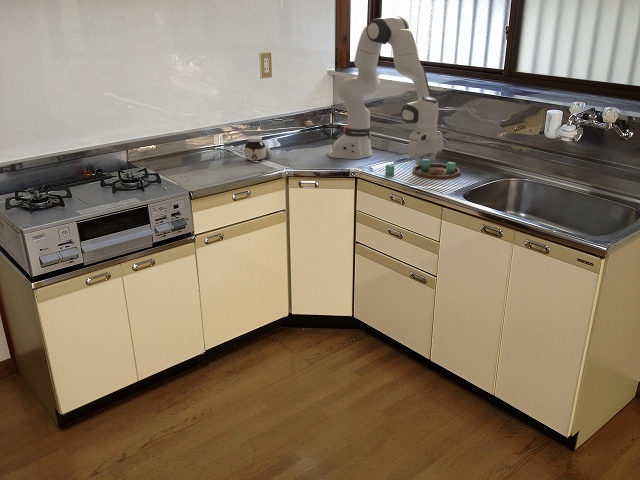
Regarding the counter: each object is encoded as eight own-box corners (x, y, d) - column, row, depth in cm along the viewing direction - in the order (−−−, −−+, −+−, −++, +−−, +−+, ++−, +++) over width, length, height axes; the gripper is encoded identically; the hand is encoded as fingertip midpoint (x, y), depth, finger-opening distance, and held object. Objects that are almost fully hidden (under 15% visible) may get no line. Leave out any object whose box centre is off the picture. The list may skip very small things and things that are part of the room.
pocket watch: (435, 165, 300) (436, 144, 296) (417, 164, 301) (419, 143, 297) (436, 160, 307) (437, 140, 303) (418, 159, 309) (419, 139, 305)
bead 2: (425, 171, 287) (426, 161, 286) (419, 169, 290) (419, 159, 288) (431, 169, 290) (432, 160, 288) (425, 167, 292) (425, 158, 291)
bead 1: (385, 176, 283) (385, 166, 282) (385, 173, 287) (385, 164, 285) (394, 176, 283) (394, 167, 281) (394, 174, 287) (394, 164, 285)
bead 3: (446, 173, 283) (447, 164, 281) (445, 171, 287) (446, 161, 285) (455, 174, 282) (456, 164, 281) (454, 171, 286) (455, 162, 284)
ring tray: (413, 180, 277) (413, 175, 276) (412, 167, 296) (412, 162, 295) (461, 181, 275) (461, 176, 274) (457, 168, 294) (457, 163, 293)
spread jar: (243, 161, 309) (241, 138, 304) (253, 156, 319) (252, 133, 314) (265, 163, 305) (264, 140, 300) (274, 158, 315) (273, 135, 310)
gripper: (437, 129, 292) (435, 157, 297) (406, 135, 280) (405, 165, 285) (447, 131, 287) (445, 160, 293) (417, 138, 275) (415, 168, 281)
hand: (425, 163), depth 289 cm, fingers open, 8 cm apart
